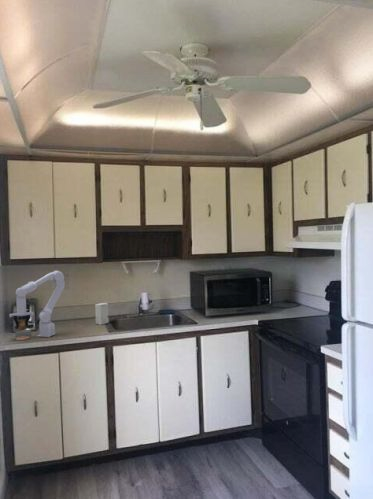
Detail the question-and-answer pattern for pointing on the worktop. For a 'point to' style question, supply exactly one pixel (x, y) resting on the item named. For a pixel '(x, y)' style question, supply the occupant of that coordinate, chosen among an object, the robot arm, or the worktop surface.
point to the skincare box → (101, 313)
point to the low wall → (23, 333)
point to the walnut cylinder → (21, 324)
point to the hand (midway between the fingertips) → (22, 327)
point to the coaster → (22, 337)
